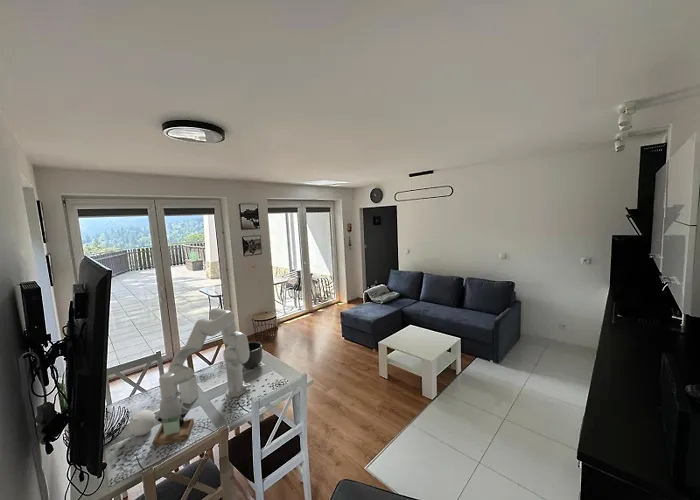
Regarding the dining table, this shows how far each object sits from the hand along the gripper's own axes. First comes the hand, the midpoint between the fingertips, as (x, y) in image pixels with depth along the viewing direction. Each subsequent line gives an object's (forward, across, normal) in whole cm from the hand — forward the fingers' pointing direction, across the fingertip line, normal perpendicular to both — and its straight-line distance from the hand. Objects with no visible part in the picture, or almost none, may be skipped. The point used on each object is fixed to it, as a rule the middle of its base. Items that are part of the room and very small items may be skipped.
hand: (173, 426), depth 154 cm
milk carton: (+5, 0, -30) cm, 30 cm away
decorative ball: (+5, +17, -7) cm, 19 cm away
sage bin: (+1, 0, 0) cm, 1 cm away
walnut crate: (+5, 0, 0) cm, 5 cm away
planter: (+5, -36, -60) cm, 70 cm away
